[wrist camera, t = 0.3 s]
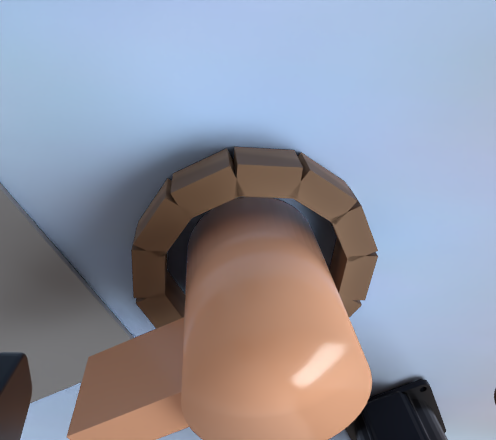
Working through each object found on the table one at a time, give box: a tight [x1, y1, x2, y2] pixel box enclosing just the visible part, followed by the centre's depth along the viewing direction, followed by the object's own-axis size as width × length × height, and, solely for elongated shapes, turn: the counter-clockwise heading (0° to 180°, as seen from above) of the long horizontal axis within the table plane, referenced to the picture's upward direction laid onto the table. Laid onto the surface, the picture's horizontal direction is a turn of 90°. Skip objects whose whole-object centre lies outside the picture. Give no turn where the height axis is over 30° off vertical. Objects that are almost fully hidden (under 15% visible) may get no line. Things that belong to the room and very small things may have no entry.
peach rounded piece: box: [67, 197, 372, 440], centre depth 20 cm, size 12×7×9 cm, turn 114°
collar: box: [131, 147, 378, 329], centre depth 22 cm, size 12×12×2 cm
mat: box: [0, 183, 134, 403], centre depth 23 cm, size 13×9×1 cm
